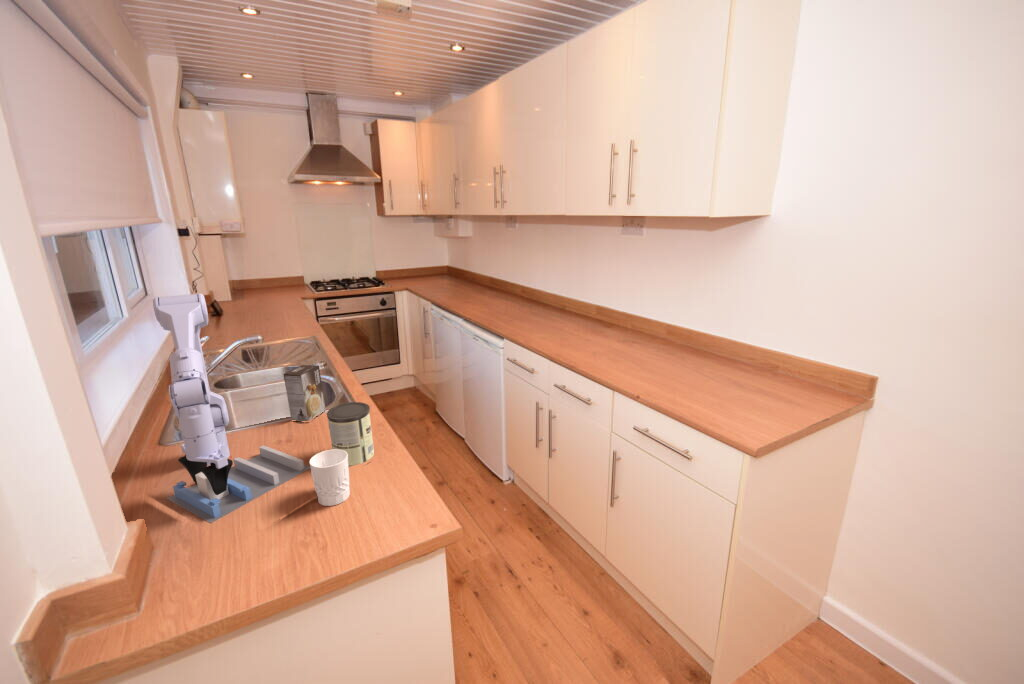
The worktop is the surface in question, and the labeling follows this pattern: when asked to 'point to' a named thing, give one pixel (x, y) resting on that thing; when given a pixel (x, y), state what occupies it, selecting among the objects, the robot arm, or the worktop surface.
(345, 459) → the white cup
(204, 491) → the cream plug
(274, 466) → the grey railed board
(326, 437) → the worktop surface
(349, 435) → the coffee can
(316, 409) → the coffee box
